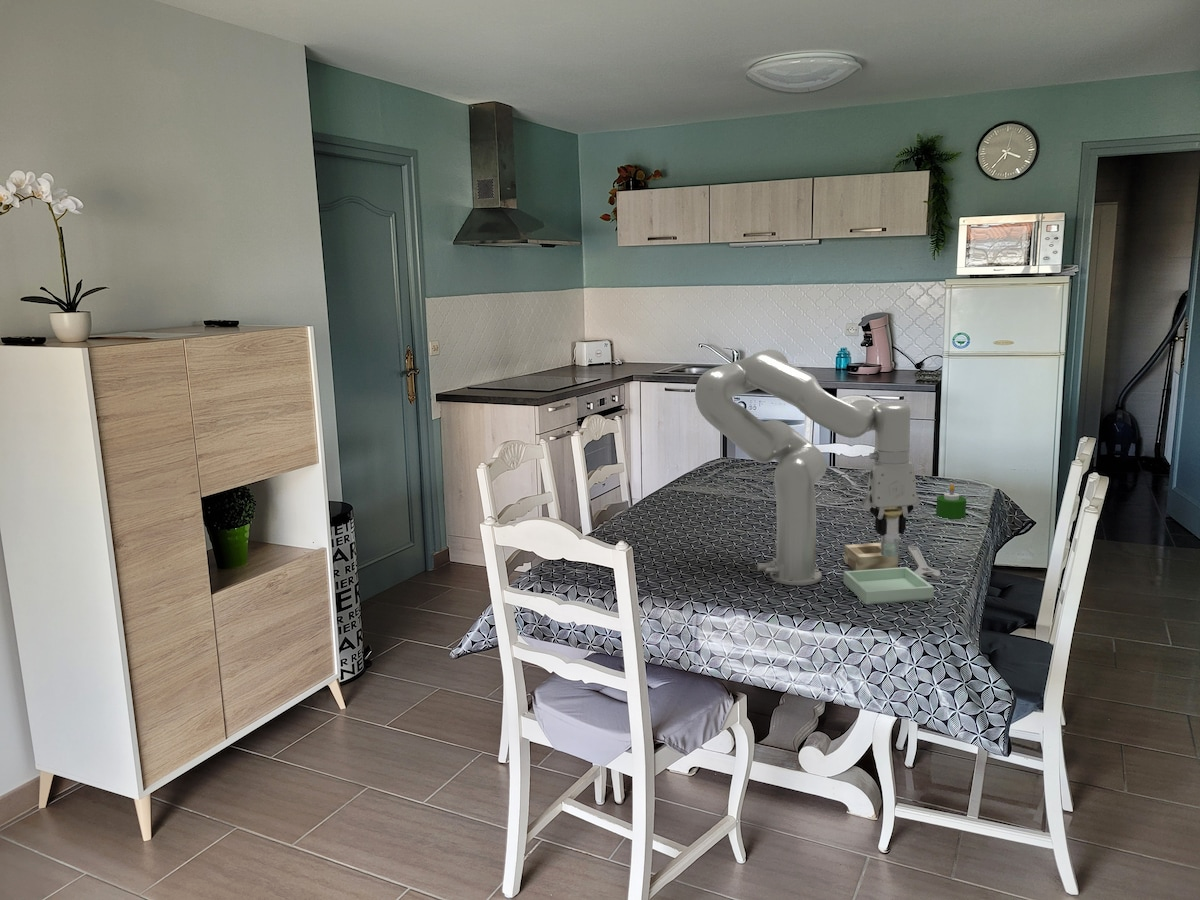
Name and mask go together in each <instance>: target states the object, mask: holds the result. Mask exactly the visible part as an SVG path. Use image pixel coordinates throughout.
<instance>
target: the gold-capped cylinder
mask: <svg viewBox="0 0 1200 900" xmlns="http://www.w3.org/2000/svg"><path fill="white" fill-rule="evenodd" d="M902 514H903V510H902V509H901V508H900V507H885V510H884V514H883V519H885V535H884V536H881V535H880V538H881V539H880V543H881V555H883V556H887V557H896V556H898V557H899V555H900V533H899V527H900V515H902Z"/></svg>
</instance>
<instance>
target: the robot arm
mask: <svg viewBox="0 0 1200 900" xmlns="http://www.w3.org/2000/svg"><path fill="white" fill-rule="evenodd" d="M696 382H697V383H696V386H695V391H694V392H695V397H694V398H695V404H696V406H697V409H698V411H699V413H700V414H701V415H702V417H703V418H704V419H705V420H706V421H707V422H708V423H709V424H710V425H711V426H712V427H714V429H716V430H717V431H719V432H720V433H721V434H722V435H724V436H725V437H726V438H727V439H728V440H729V441H730V442H731V443H732V444H734V445H735V446H736V447H738V448H739V449H740V450H741V451H742V452H744V454H746V455H747V457H749V458H750V459H752V460H753V461H754V462H756V463H760V464H769V463H771V462H772V461H776V462H777V463H778V464H777V465H776V467H775V469H774V473H773V474H774V476H773V482H774V489H775V490H774V491H775V501H776V547H775V548H776V550H775V551H776V557H772V561H769V562H761V563H760V562H759V563H757V564H756V569H757V571H758V572H761V571H763V572H765V574H769V577H770V579H771V580H772V581H774V582H776V583H778V584H782V585H785V586H786V585H787V586H798V587H800V586H802V587H803V586H810V585H814V584H817V583H819V582H820V581H821V580H822V575H823V574H822V572H821V571H820V570H819V569H818V568H816V558H817V557H816V556H817V555H816V552H817V551H816V549H817V547H816V546H817V545H816V544H817V536H816V535H817V504H816V503H817V501H816V500H817V499H816V494H815V484H817V482H819V481H820V480H821V479H822V478H823V477H824V476H825V474H826V472H827V467H828V465H827V459H826V457H825V455H824V454H823V453H822V451H821V450H820V449H818V447H816V445H814V444H813V443H811V442H810V441H809V440H808V439H807V438H805V437H804V436H803V435H802V434H800V433H799V432H798V431H796V430H795V429H794V428H793V427H792V426H790V425H789V424H787V423H786V422H783V421H782V420H778V419H769V420H766V421H762V420H761V419H759V418H758V417H756V416H755V415H754V414H753V413H752V412H750V411H749V410H748V409H747V408H746V407H744V406H743V405H741V404H739V403H737V402H735V401H734V400H733V399H732V398H734V397H736V396H739V395H742V394H745V393H748V392H751V391H754V390H758V389H759V390H761V391H763V392H765V393H767V394H770V395H772V396H773V397H775V398H778V399H779V400H782V401H783V402H786V403H787V404H790V405H792V406H793V407H796V409H798V410H799V411H800V413H802V414H804V415H805V416H806V417H807V418H809V419H810V420H811V421H812V422H813V423H816V424H817V425H819V426H821V427H822V428H825V429H827V430H829V431H830V432H832V433H835V434H837V435H839V436H842V437H845V438H848V439H855V438H856V439H857V438H859V437H862V436H863V435H865V434H866V433H869V432H871V431H874V432H875V434H874V436H875V437H874V440H875V441H874V449H873V452H870V453H869V454H868V457H869V459H870V460H874V461H872V462H871V466H870V470H869V476H868V481H867V483H868V484H867V494H866V496H865V498H864V499H863V500H862V502H861V504H860V506H861V507H862V508H863V509H865V510H867V511H868V512H869V513H871V514H872V515H873V517H875V519H874V520H875V521H874V522H875V523H874V531H876V533H877V534H878V535H880V537H881V536H884V535H885V519H883V514H884V510H885V507H900V508H901V509H902V510H903V514H902V515H900V527H899V535H904V534H905V530H906V527H907V518H908V517H909V514H910V513H911V512H912V511H913V510H914V508H917V506H919V505H921V502H922V501H921V499H920V498H919V497H918V495H917V483H916V482H917V481H916V472H915V468H914V463H913V462H912V461H910V451H911V450H910V448H911V447H910V444H911V443H910V439H911V408H910V406H909V405H908V404H906V403H904V402H897V401H895V402H889V401H888V402H879V401H874V400H869V399H868V400H867V399H858V400H855V401H853V402H851V403H849V402H846V401H844V400H842V399H840V398H837V397H836V396H835V395H832V394H830V393H829V392H828V391H826V390H825V389H823V387H821V385H820V384H819V381H818V380H817V378H816V377H815V375H814V374H812V373H810V372H808V371H805V370H803V369H801V368H799V367H797V366H795V365H793V364H791V363H789V361H788V359H787V357H786V355H784V353H782V352H781V351H778V350H776V349H766V350H762V351H759V352H756V353H753V354H752V355H750V356H748V357H745V358H741V359H739V360H736V361H733V362H729V363H726V364H723V365H719V366H716V367H713V368H710V369H708V370H706V371H704V373H703V374H702V375H700V376H699V378H698V380H697V381H696ZM871 504H873V506H872V505H871Z"/></svg>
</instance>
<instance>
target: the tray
mask: <svg viewBox="0 0 1200 900" xmlns="http://www.w3.org/2000/svg"><path fill="white" fill-rule="evenodd" d="M842 580H843V582H842V583H843V585H845V587H847V588H848V589H849V590H850V591H851V592H854V593H853V594H854V595H856V596H857V597H858V598H859V599H860V600H861V601H862V602H863V603H864V604H865V605H878V604H891V603H904V602H918V601H919V600H920V601H929V600H930V599H933V600H934V597H935V594H934V593H935V587H934V586H933V585H932V584H930V583H929V582H928V581H925V580H924V579H922V578H921V577H920V576H918V575H917V574H916V573H914V570H912V569H911V568H909V567H908V566H904V567H898V568H886V569H871V570H857V571H855V570H846V571H843V579H842ZM920 601H919V602H920ZM930 601H931V600H930Z"/></svg>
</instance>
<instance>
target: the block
mask: <svg viewBox="0 0 1200 900" xmlns="http://www.w3.org/2000/svg"><path fill="white" fill-rule="evenodd" d="M843 557H844V559H843V561H844V563H845V564H846V565H848V566H849V567H850V568H851V569H852V571H857V570H871V569H886V568H899V555H898V556H896V557H887V556H883V555H881V542H873V543H872V542H871V543H870V542H869V543H853V544H844V556H843Z"/></svg>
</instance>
